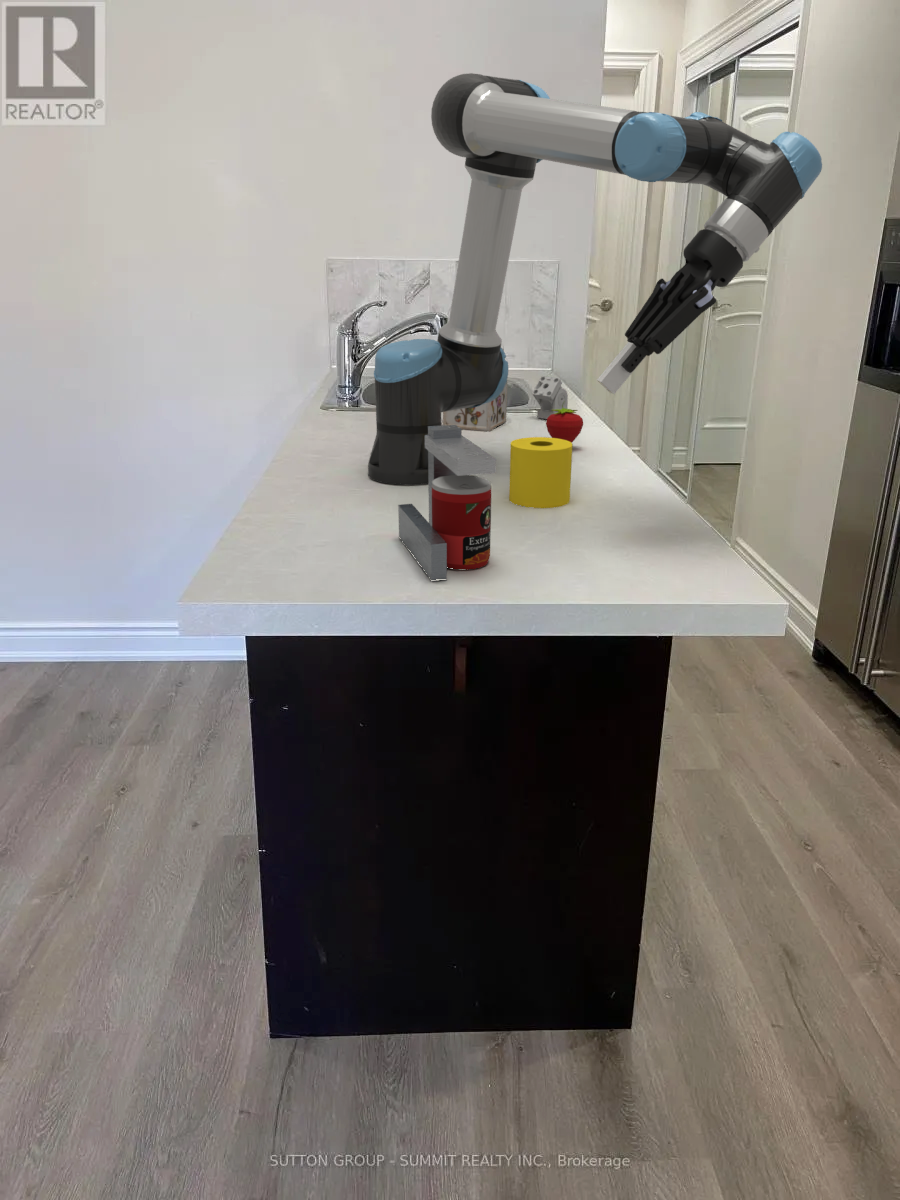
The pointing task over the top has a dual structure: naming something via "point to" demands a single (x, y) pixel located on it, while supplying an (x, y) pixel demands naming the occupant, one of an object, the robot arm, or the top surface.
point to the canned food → (463, 519)
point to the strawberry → (564, 424)
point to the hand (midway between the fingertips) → (605, 386)
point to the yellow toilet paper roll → (540, 472)
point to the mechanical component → (550, 396)
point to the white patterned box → (479, 415)
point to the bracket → (444, 459)
